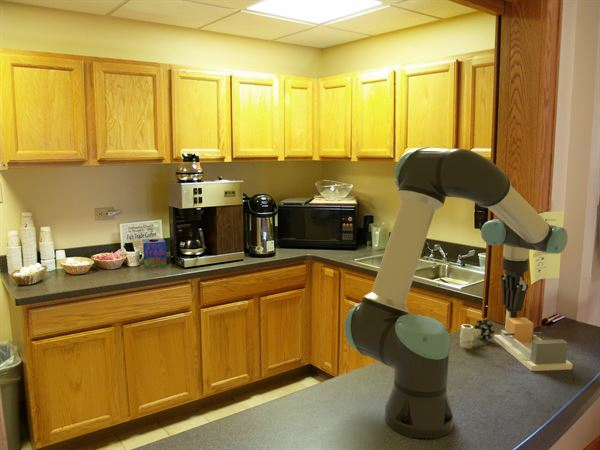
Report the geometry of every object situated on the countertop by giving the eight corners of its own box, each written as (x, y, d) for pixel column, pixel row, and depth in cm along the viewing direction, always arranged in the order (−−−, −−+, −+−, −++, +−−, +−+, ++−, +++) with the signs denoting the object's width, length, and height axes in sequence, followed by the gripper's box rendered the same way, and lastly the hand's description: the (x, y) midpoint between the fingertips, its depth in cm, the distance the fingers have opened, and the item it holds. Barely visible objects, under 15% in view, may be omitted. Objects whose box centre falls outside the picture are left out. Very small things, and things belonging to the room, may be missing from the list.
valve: (471, 351, 151) (494, 342, 158) (472, 331, 150) (495, 322, 157) (452, 344, 156) (475, 335, 163) (454, 324, 155) (477, 316, 162)
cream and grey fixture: (531, 370, 138) (533, 345, 137) (493, 339, 160) (495, 317, 159) (572, 369, 139) (574, 343, 138) (529, 338, 161) (531, 315, 160)
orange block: (504, 343, 153) (505, 324, 152) (496, 336, 158) (497, 318, 157) (541, 341, 154) (543, 323, 153) (532, 335, 159) (533, 317, 158)
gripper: (538, 262, 151) (532, 336, 155) (516, 253, 164) (511, 321, 168) (515, 263, 150) (509, 337, 154) (494, 253, 163) (489, 322, 167)
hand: (510, 329), depth 161 cm, fingers closed
